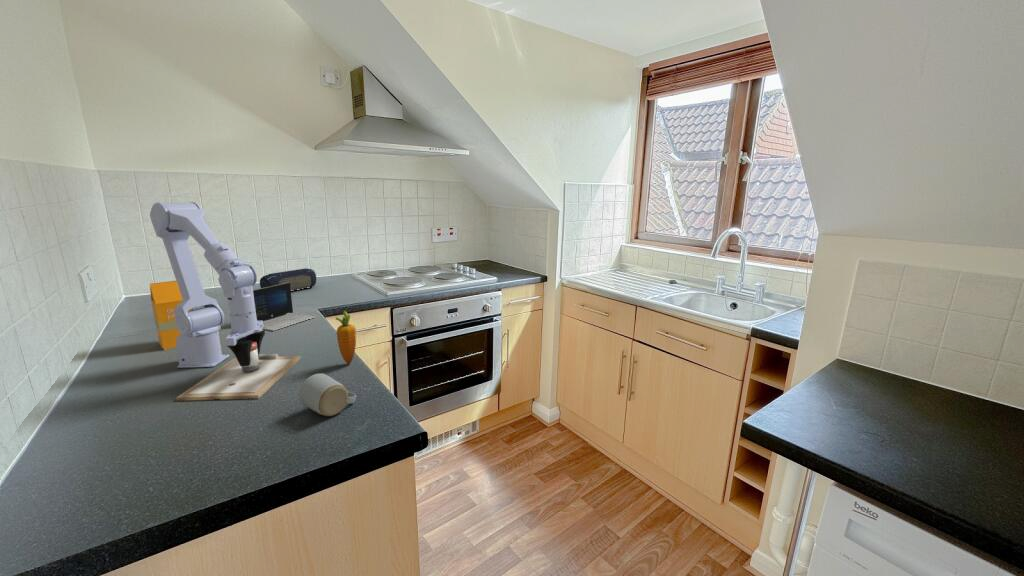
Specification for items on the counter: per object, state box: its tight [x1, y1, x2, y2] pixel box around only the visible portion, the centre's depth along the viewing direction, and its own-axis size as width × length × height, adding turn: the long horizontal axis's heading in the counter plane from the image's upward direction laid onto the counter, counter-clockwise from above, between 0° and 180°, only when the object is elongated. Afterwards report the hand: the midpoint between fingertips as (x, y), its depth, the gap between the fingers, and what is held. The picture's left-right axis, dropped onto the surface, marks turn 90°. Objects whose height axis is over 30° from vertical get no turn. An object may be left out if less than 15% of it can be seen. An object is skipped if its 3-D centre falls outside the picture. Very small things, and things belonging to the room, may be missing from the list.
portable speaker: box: [259, 267, 317, 290], centre depth 202 cm, size 25×10×10 cm, turn 146°
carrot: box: [335, 311, 357, 365], centre depth 116 cm, size 5×5×15 cm
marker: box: [242, 341, 260, 372], centre depth 111 cm, size 4×4×7 cm
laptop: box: [253, 282, 316, 332], centre depth 154 cm, size 18×12×13 cm
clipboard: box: [176, 353, 302, 402], centre depth 109 cm, size 18×24×2 cm
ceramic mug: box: [298, 373, 357, 417], centre depth 94 cm, size 11×8×8 cm
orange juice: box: [149, 280, 194, 351], centre depth 131 cm, size 8×9×20 cm
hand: (249, 362), depth 111 cm, fingers closed on marker, 4 cm apart
